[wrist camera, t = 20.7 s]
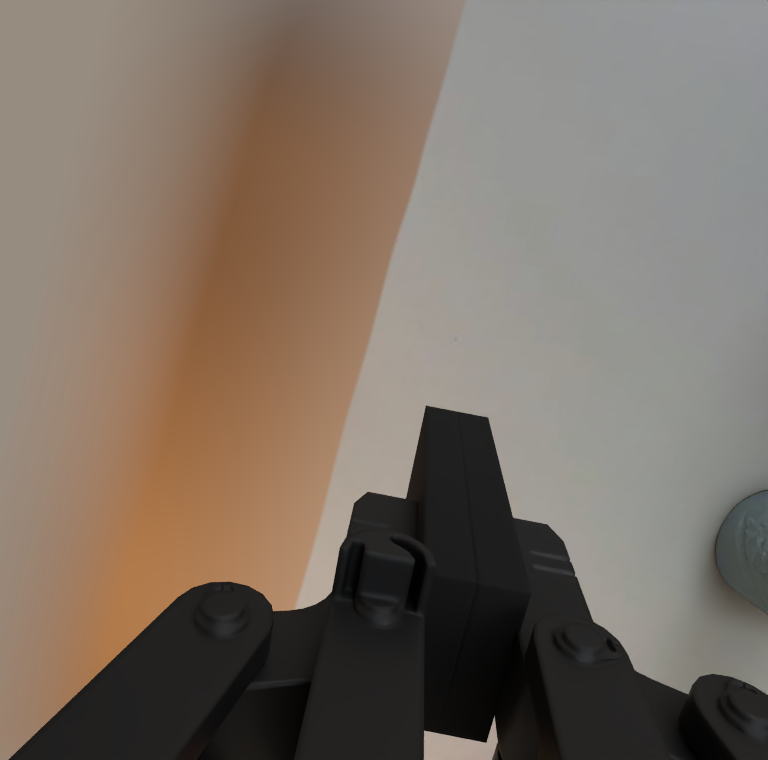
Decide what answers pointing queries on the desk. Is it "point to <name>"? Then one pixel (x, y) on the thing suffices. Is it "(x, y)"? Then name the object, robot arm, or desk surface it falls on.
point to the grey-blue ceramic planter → (746, 550)
